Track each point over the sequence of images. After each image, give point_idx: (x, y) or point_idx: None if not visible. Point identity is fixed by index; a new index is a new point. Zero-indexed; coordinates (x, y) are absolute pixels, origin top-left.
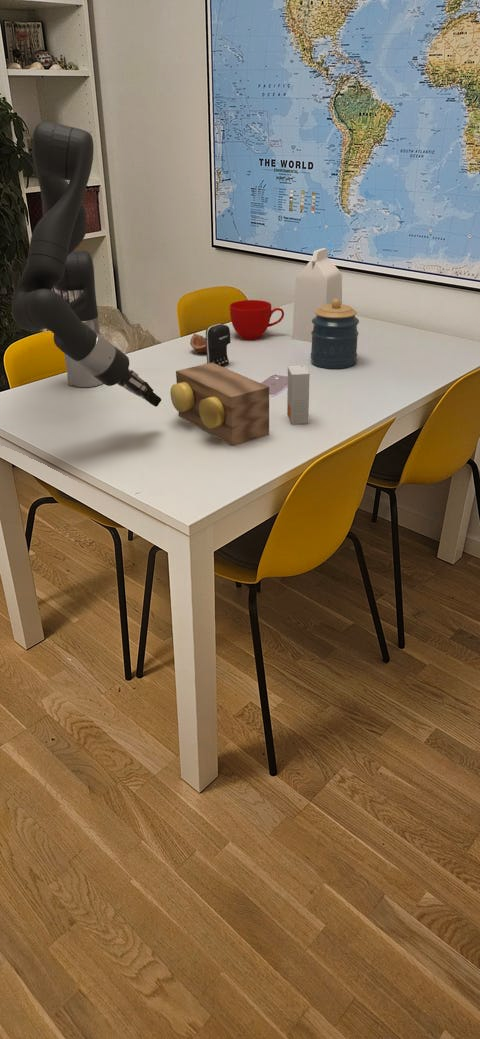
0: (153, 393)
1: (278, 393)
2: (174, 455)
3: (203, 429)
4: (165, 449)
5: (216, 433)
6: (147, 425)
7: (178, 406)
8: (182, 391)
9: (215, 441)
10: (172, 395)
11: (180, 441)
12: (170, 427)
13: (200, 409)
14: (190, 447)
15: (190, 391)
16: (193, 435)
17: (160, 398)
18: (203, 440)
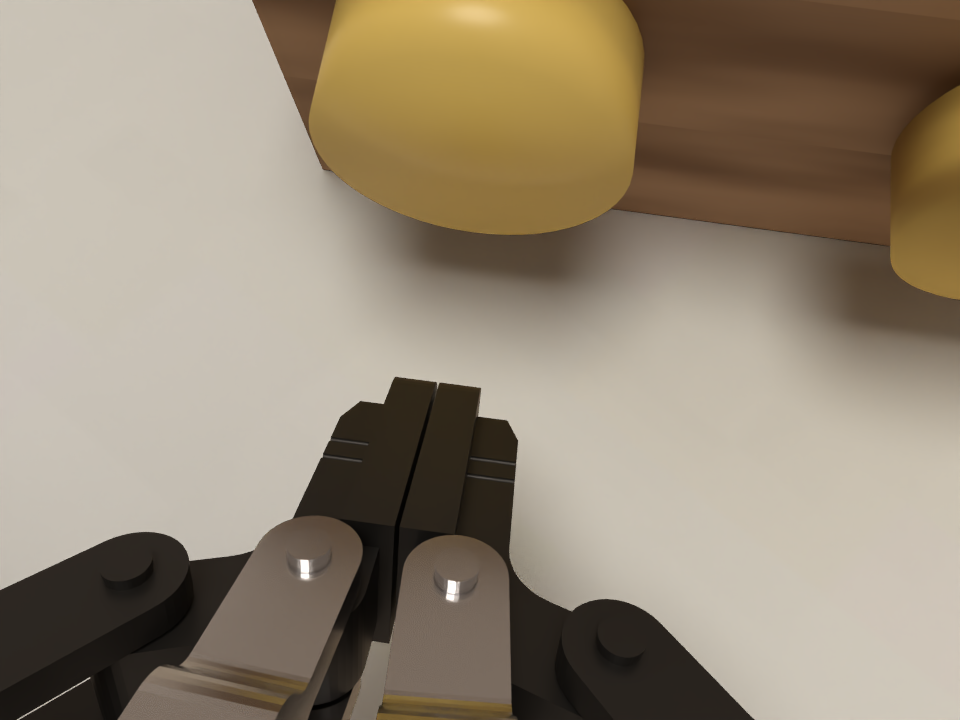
0: (462, 489)
1: None
2: (943, 707)
3: (676, 216)
4: (790, 680)
5: (869, 228)
6: (272, 457)
7: (473, 207)
8: (604, 112)
9: (913, 297)
10: (355, 147)
11: (736, 481)
12: (450, 354)
13: (953, 223)
14: (888, 503)
15: (628, 33)
16: (708, 335)
17: (478, 394)
18: (839, 345)
